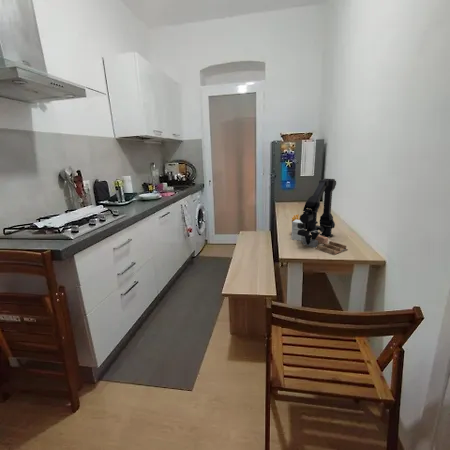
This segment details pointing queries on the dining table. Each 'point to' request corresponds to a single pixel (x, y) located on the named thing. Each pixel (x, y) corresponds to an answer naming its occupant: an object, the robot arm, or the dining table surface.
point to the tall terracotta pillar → (322, 239)
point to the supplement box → (295, 230)
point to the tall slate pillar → (311, 243)
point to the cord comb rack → (332, 248)
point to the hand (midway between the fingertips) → (310, 243)
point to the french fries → (295, 217)
